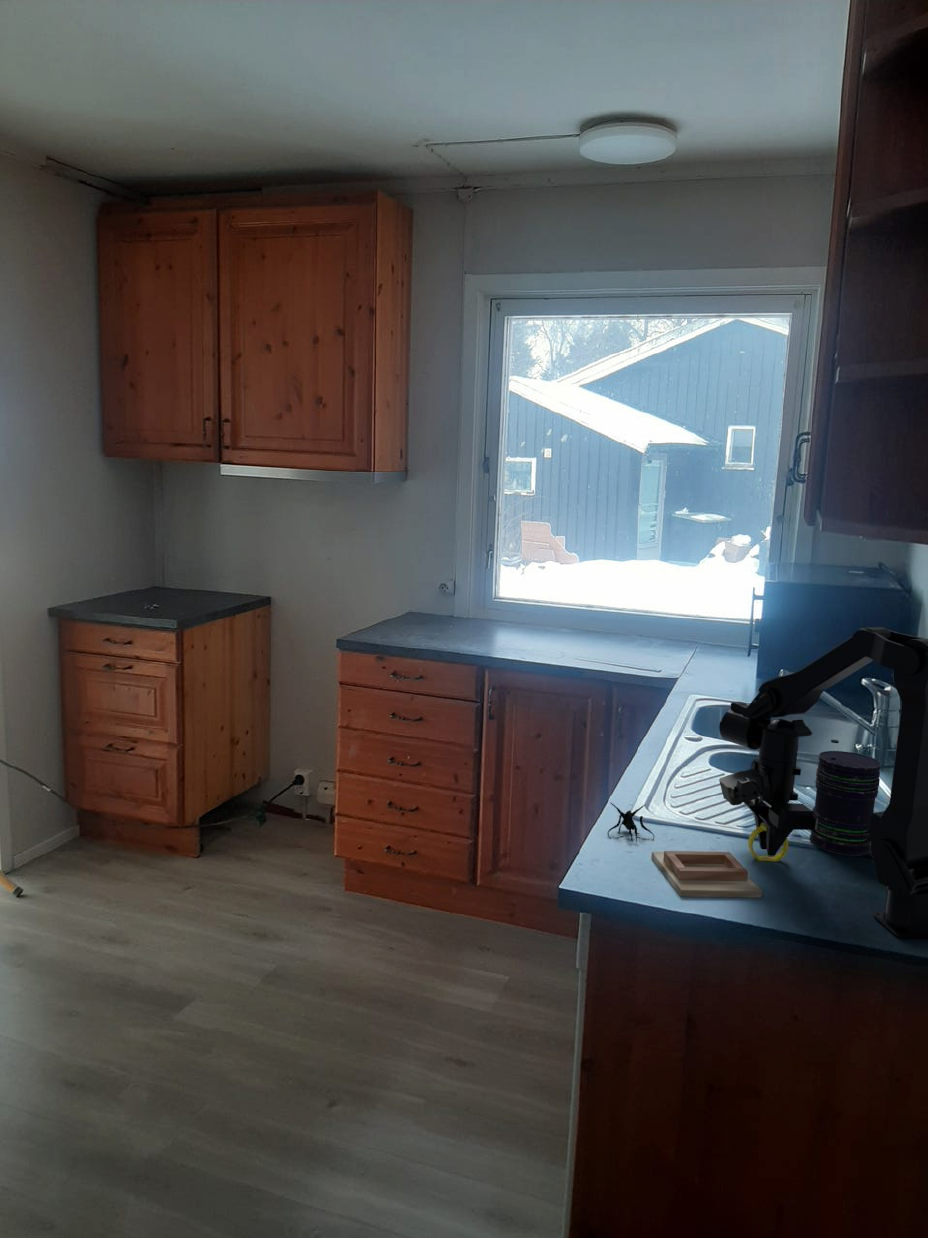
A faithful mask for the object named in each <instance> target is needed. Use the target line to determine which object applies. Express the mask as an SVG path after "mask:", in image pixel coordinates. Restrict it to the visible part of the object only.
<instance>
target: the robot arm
mask: <svg viewBox="0 0 928 1238" xmlns="http://www.w3.org/2000/svg"><path fill="white" fill-rule="evenodd" d="M871 662H875V663H876V664H878V665H879V666H881V667H885V668H887V669H890V670H892V680H893V685H894V686H895V688H896V689H895V690H896V692H897V694H898V696H899V699H900V702H901V704H900V705H901V706H900V714H899V723H898V731H897V736H896V737H897V739H896V747H895V753H894V754H895V755H894V764H893V771H892V778H891V779H892V780H891V788H890V794H889V795H890V797H889V801H888V805H887V806H886V808H885V810H882V811H876V812H873V813H872V814H871V818H870V833H869V836H868V838H867V840H866V841H867V842H870V841H871V843H870V852H869V853H870V856H871V857H872V858H873V859H874V866H875V871H876V877H877V883H879V884H881V885H883V886H885V887H886V893H885V901H884V908H883V911H884V912H878V911H877V912H875V911H874V912H873V917H874V918H875V919H876V920H877V921H879V923H881V924H882V925H883V926H884V927H885V928H887V929H888V930H889V931H890V932H891V933H892V934H893V935H895V937H897V938H923V939H924V938H927V939H928V638H924V637H919V636H914V635H910V634H906V633H901V632H897V631H894V630H890V629H888V628H885V627H881V626H880V627H878V626H877V627H862V628H860V629H858V630H856V632H855V633H853V635H851V636H850V637H849V638H847V639H845V640H844V641H843V642H840V643H839V644H838V645H836V646H835V647H834V648H832V649H831V650H828V651H827V652H826V653H824V654H822V655H821V656H820V657H818V658H816V659H815V660H813V661H812V662H810V663H809V664H807V665H806V666H804V667H803V668H801V669H799V670H796V671H794V672H790V673H787V674H782V675H779V676H777V677H773V678H771V679H768V680H765V681H764V682H762V684H761V685H760V686H759V688H758V693H757V695H756V696H755V697H754V698H753V699H752V700H751V701H750V703H749V704H747V703H746V702H742V701H733V702H731V703H730V707H729V709H728V710H726V712H725V713H724V714H723V716H722V718H721V720H720V721H719V726H718V728H719V733H720V736H721V738H722V739H723V740H725V741H728V742H730V743H732V744H735V745H738V746H741V747H744V748H747V749H749V750H753V751H755V750H758V758H757V759H756V758H753V760H752V761H751V762H750V768H749V769H746V770H741V771H737V772H734V773H732V774H728V775H726V776H722V777H720V778H719V779H718V781H719V786H720V790H721V793H722V796H723V799H724V800H726V801H727V802H729V804H730V805H731V806H740V805H742V804H744V805H746V807H747V808H748V809H749V810H750V811H751V812H752V814H753V817H754V818H753V819H754V822H755V826H756V828H758V827H760V826H761V823H762V822H765V823H766V831H762V832H760V833H759V834H758V835H757V839H758V843H759V848H760V849H761V850H766V855H767V857H774V856H776V855H777V854H778V852H779V850H781V848H782V847H783V843H784V841H785V840H786V839H788V837H789V836H790V835H791V833H792V832H793V831H796V830H797V831H802V830H803V831H806V830H807V831H811V830H816V829H817V822H818V816H817V815H816V814H815V813H814V812H813V811H812V810H813V809H810V808H809V807H808V806H807V805H805V804H804V803H792V802H793V801H794V802H795V801H798V800H799V794H798V793H796V792H795V791H794V788H795V787H794V786H795V781H796V780H795V779H796V778H795V777H796V776H801V773H802V768H800V767H798V766H797V761H798V751H799V742H800V738H803V737H804V738H805V737H810V736H812V735H813V732H812V731H811V729H810V728H809V727H808V726H807V725H806V723H805V721H804V719H794V720H792V721H790V720H787V719H783V718H784V717H791V716H792V717H793V716H801V715H804V714H806V713H807V712H808V711H809V710H810V709H811V708H812V707H814V706H815V705H816V704H817V703H818V701H819V699H820V697H821V695H822V694H823V693H824V692H825V691H826V690H827V689H829V688H831V687H832V686H835V685H836V684H837V683H840V681H842V680H844V679H845V678H847V677H849V676H850V675H852V674H853V673H855V672H857V671H859V670H860V669H862V668H863V667H865V666H867V665H868V664H870V663H871ZM782 717H783V718H782ZM771 718H776V719H775V720H772V719H771ZM777 718H778V719H777ZM790 801H792V802H791V803H790ZM756 828H755V829H756Z"/></svg>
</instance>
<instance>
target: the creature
mask: <svg viewBox="0 0 928 1238" xmlns="http://www.w3.org/2000/svg"><path fill="white" fill-rule="evenodd" d="M609 803H610V805H612V806H613V807H614V808H615V809H616V811H617V812H618V814H619V815H618V816H619V818H618V821H617V823H616V824H615V825H614V826H612V827H611V828H609V829H608V831H607V837H608V838H609V839H610V840H613V838H612V837H610V835H609V834H610V832H611V831H612V830H614V829H616V828H618V832H617V834H618V836H617V837H615V840H616V839H619V836H620V838H623V837H624V836H623V835H620V832H621V827H622V826H624V827H625V828H626V830H628V834H629V835H630V838H631V839H630V841H631V842H633V833H632V831H634V835H635V842H636V843H637V842H638V839H642V840H645V841H647V839H646V838H643V837H641V836H638V835H640V833H639V832H638V827H637V825H636V824H635V820H633V817H634V816H635V815H636V814H637V813H638V812H639V811H640V810H641V809H643V808H644V807H645V806H646V803H645V804H643V805H642V806H641V807H639V808H637V809H635V810H634V811H631V810H627V811H626V812H625V813H624V812H623V811H622V810H621V809H620V808H618V807H617V806H616V805H615V804H614V803H612V802H609ZM643 818H644V816H643V815H641V816H639V824H640V827H641V828H642V829H643V830H645V831H647V832H649V833H650V834H651V835H652V836H653V838H652V840H651V842H653V841H654V839H655V835H654V834H655V833H653V832H652V831H651V830H650V829H649V828H647V827H646V826H645V825H644V823H643Z"/></svg>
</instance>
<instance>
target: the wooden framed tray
mask: <svg viewBox="0 0 928 1238" xmlns="http://www.w3.org/2000/svg"><path fill="white" fill-rule="evenodd" d="M650 858H651V859H652V861H653V863H654V864H655V865H656V867H658V869H659V870H660V871H661V873H662V874H663V875H664V877H665V878H666V880H667V881H668V882H669V883H670V884H671V885H672V886H671V887H673V889H674V890H675V891H676V892H677V894H678V895H679V896H680V897H683V898H685V897H687V898H693V897H694V898H698V897H699V898H762V894H763V891H762V890H761V888H759V887H758V885H757V884H755V882H754V881H753V880H752V879H751V878H750V877H749V871H748V869H746V868H745V867H744V866H743V864H742V863H740V862H739V860H738V859H736V857H735V856H734V855H733V854H732V853H730V851H688V850H684V851H683V850H682V851H681V850H664V851H651V857H650Z"/></svg>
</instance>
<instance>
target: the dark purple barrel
mask: <svg viewBox="0 0 928 1238" xmlns="http://www.w3.org/2000/svg"><path fill="white" fill-rule="evenodd" d="M830 742H831V743H832V744H839V743H840V741H839V740H838V739H830ZM881 767H882V763H881V761H879V759H876V758H874V757H871V756H868V755H865V754H860V753H857V752H849V751H844V750H843V751H841V750H827V751H822V752H820V753H819V755H818V763H817V768H816V774H815V776H816V778H815V781H814V782H815V788H816V793H815V802H814V806H813V808H812V809H811V810H812V811H813V812H814V813H815V814H816V815H817V816H818V822H817V829H816V830H810V835H809V842H810V844H812V845H813V846H814V847H817V848H819V849H820V850H823V851H826V852H828V853H832V854H836V855H842V856H843V855H844V856H851V857H852V856H854V857H855V856H856V857H857V856H866V855H868V854H870V853H871V852H870V843H871V841H870V842H867V841H866V840H867V838H868V836H869V833H870V818H871V814H872V813H875V812H874V811H875V805H876V804H875V803H876V802H875V801H876V798H877V797H878V794H879V786H880V782H881V779H880V775H881V773H880V770H881Z"/></svg>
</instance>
